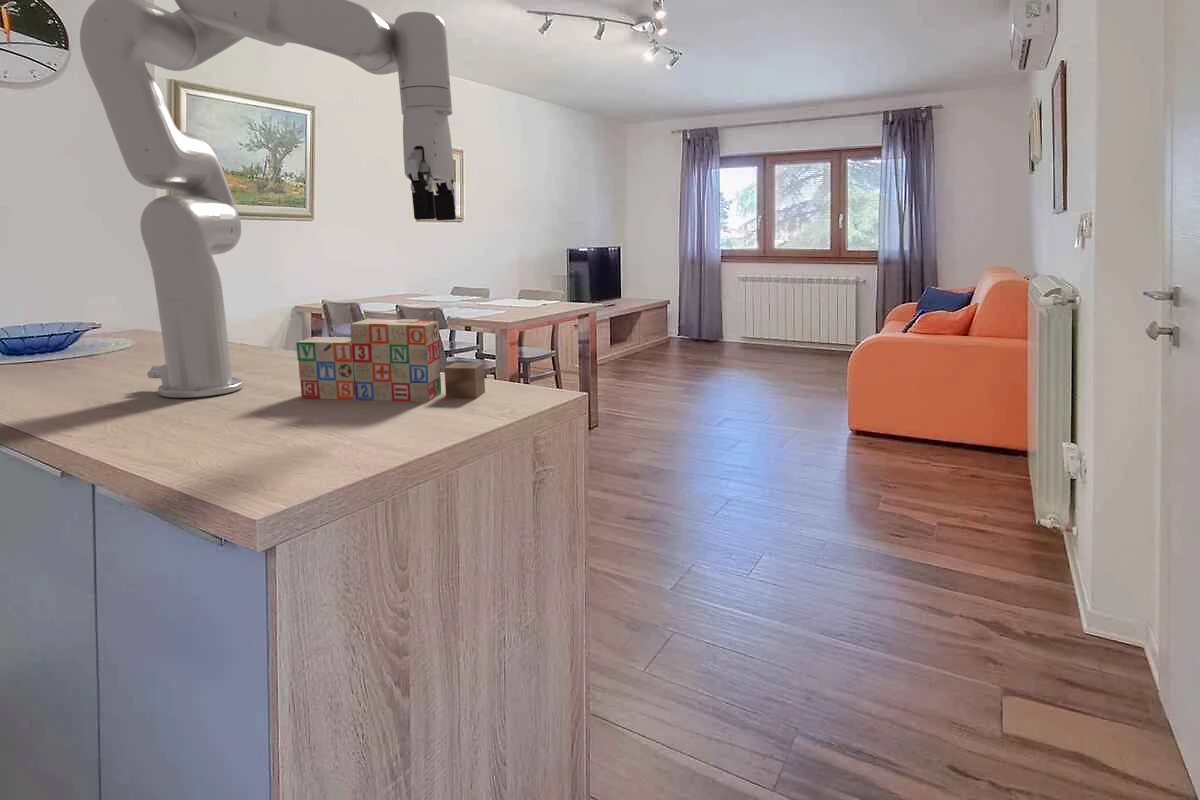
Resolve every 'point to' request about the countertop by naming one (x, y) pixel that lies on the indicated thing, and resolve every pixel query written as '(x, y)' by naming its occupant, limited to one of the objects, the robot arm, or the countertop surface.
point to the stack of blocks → (373, 362)
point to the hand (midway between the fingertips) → (436, 219)
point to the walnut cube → (464, 380)
